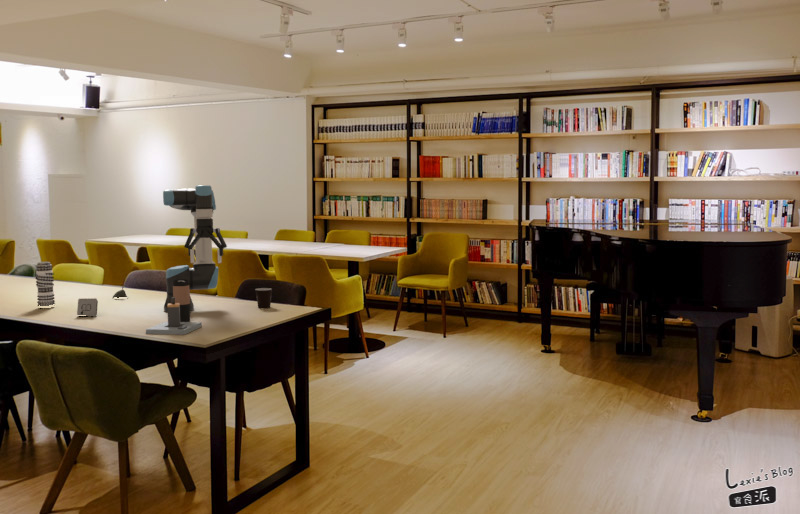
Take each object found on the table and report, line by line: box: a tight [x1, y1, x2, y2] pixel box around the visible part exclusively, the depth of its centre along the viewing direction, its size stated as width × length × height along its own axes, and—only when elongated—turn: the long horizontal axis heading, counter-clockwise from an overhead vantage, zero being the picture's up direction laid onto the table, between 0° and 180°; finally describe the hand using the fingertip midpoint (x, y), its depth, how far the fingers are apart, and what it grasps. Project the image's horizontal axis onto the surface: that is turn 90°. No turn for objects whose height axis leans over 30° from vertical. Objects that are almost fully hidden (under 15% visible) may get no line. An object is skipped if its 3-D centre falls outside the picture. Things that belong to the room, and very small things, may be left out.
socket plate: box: [145, 321, 202, 336], centre depth 321 cm, size 18×18×3 cm
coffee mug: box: [255, 287, 273, 309], centre depth 380 cm, size 12×9×10 cm
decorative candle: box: [34, 261, 56, 307], centre depth 385 cm, size 9×9×25 cm
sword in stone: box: [112, 278, 128, 298], centre depth 417 cm, size 10×8×12 cm
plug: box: [167, 297, 180, 327], centre depth 320 cm, size 5×5×15 cm
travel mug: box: [173, 279, 191, 322], centre depth 341 cm, size 8×8×20 cm
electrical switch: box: [76, 297, 99, 317], centre depth 359 cm, size 9×5×9 cm, turn 90°
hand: (206, 262), depth 336 cm, fingers open, 13 cm apart
